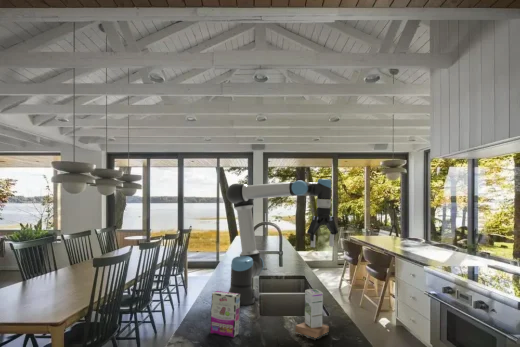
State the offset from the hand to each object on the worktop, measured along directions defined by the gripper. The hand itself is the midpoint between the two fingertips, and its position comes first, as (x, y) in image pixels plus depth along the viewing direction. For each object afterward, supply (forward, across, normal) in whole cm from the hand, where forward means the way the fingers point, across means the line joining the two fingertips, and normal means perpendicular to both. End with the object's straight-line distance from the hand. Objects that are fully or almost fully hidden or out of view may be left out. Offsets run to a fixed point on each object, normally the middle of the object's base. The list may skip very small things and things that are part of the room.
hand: (322, 246), depth 197 cm
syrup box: (+28, -31, -29) cm, 51 cm away
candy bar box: (+32, -64, -12) cm, 72 cm away
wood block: (+32, -31, -29) cm, 53 cm away
